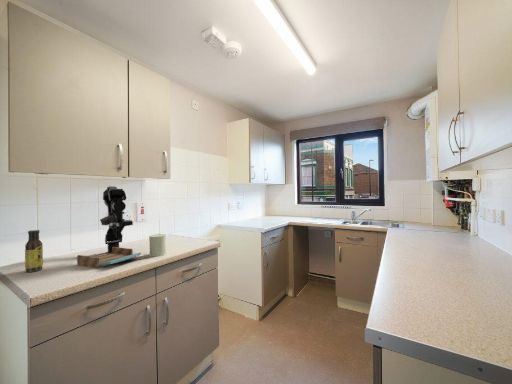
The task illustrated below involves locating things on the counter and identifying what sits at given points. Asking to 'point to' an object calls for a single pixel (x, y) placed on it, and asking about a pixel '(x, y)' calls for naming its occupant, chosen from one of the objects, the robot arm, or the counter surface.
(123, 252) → the flatbed
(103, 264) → the teal flat rectangular block
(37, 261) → the sauce bottle
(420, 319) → the counter surface
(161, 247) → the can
